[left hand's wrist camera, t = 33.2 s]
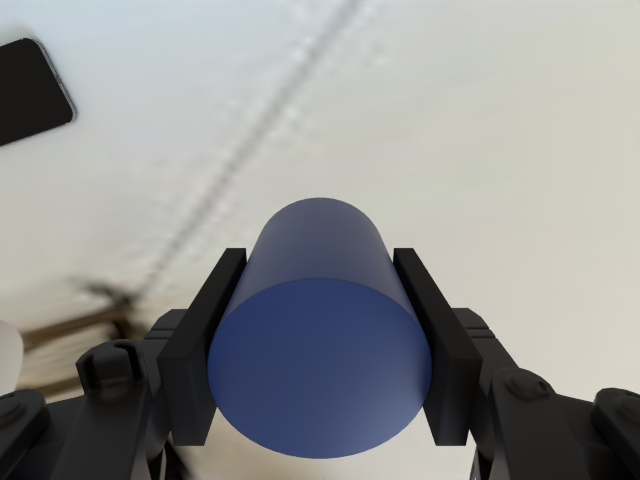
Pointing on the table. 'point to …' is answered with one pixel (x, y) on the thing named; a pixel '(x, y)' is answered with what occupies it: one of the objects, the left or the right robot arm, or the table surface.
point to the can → (319, 338)
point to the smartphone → (30, 93)
